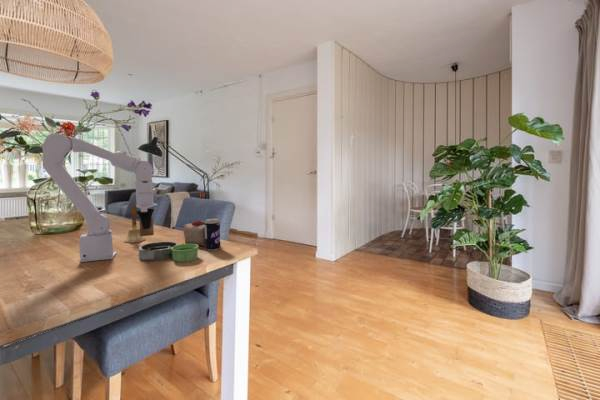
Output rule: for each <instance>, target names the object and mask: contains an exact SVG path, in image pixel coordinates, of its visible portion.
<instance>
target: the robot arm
mask: <svg viewBox="0 0 600 400" xmlns="http://www.w3.org/2000/svg"><path fill="white" fill-rule="evenodd" d="M41 147H42V148H41V149H42V168H43V170H45V171H46V173H47V174H48V175H49V176H50V178H51V179H52V180H53V181H54V182H55V183H56V185H57V187H59V188H60V189H61V190H62V192H63V193H64V195H65V196H66V197H67V198H68V199H69V201H70V202H71V203H72V204H73V205H74V207H75V208H76V209H77V210H78V211H79V213H80V214H81V216H82V217H83V219H84V220H85V221H86V224H87V229H88V231H87V232H86V234H85V233H84V234H80V236H79V240H78V247H79V258H80V259H79V263H85V262H94V261H103V260H112V259H113V258H114V257H115V256H116V254H117V252H116V251H114V247H113V246H114V245H113V244H114V243H113V232H112V230H111V229H110V226H111V222H110V219H109V216H108V215H107V214H105V213H104V212H101V211H100V210H99V209H98V208H97V207H96V206H95V204H93V203H94V202H92V201H91V200H90V198H89V197H88V195H87V194H86V193H85V191H84V190H83V189H82V188H81V187H80V186H79V183H77V182H76V181H75V179H74V178H73V177H72V175H71V174H70V173H69V172H68V170H67V169H66V168H65V166H64V164H65V161H66V158H67V156H68V155H69V154H70V152H73V153H86V154H88V155H89V154H90V155H93V156H94V157H98V158H101V159H103V160H107V161H109V162H110V164H111V166H113V167H115V168H117V169H120V170H124V171H126V172H128V173H134V175H135V181H134V184H135V198H136V199H135V200H136V201H135V202H136V205H135V206H136V208H139V209H137V216H138V218H139V219H140V220H141V223H142V227H143V229H149V228H150V222H151V218H153V217H152V216H153V213H154V211H155V208H153V207H155V206H156V207H157V206H158V203H154V187H153V176H152V174H153V172H154V168H153V166H152V164H151V162H148V161H147V160H141V158H142V157H139V156H137V157H135V156H133V155H130V154H128V153H127V151H120V150H117V151H115V152H112V151H110V150H107V149H105V148H102V147H101V146H97V145H95V144H93V143H90V142H88V141H85V140H83V139H80V138H76V137H74V136H73V137H72V136H71V135H70V136H68V137H67V135H65V134H63V133H60V132H59V133H58V132H56V133H55V132H54V133H51V134H48V135H47V136H46V138H45V140H44V141H43V143H42V145H41Z"/></svg>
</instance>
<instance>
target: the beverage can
mask: <svg viewBox="0 0 600 400" xmlns="http://www.w3.org/2000/svg"><path fill="white" fill-rule="evenodd" d="M204 224H205V247H204V248H205V249H206V250H207V251H209V252H215V251H216V252H217V251H219V250H220V248H221V223H220V220H219V218H216V217H215V218H206V219H205V221H204Z"/></svg>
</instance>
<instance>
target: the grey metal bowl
mask: <svg viewBox="0 0 600 400" xmlns="http://www.w3.org/2000/svg"><path fill="white" fill-rule="evenodd" d="M176 245H179V242H176V241H168V240H167V241H166V240H165V241H156V242H150V243H146V244H143V245H140V246H139V247H138V258H139V260H142V261H147V262H150V261H152V262H153V261H155V262H156V261H163V260H168V259H173V255H172V250H171V248H172V247H173V246H176Z"/></svg>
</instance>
